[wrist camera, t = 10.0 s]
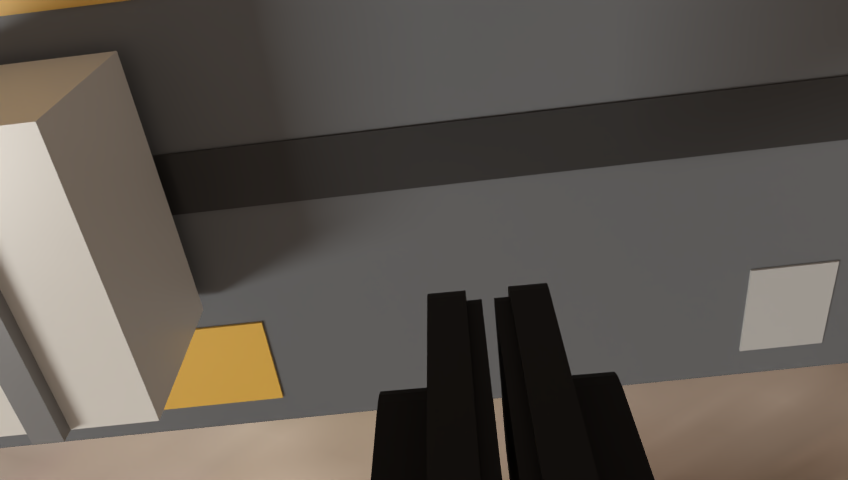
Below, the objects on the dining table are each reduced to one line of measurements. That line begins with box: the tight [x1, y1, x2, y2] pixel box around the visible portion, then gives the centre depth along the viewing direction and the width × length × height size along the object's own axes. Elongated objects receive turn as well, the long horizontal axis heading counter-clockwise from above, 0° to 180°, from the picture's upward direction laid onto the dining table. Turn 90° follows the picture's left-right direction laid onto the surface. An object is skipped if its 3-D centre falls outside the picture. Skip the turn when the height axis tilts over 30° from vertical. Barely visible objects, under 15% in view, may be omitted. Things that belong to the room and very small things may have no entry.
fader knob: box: [0, 51, 203, 445], centre depth 14 cm, size 4×6×4 cm, turn 6°
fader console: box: [0, 0, 848, 448], centre depth 16 cm, size 25×14×2 cm, turn 96°
